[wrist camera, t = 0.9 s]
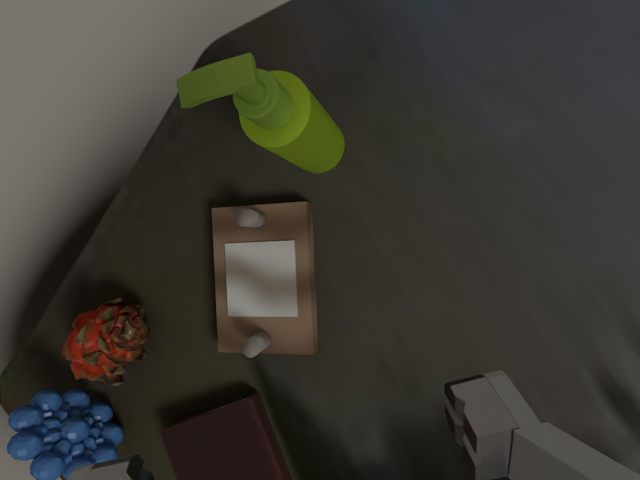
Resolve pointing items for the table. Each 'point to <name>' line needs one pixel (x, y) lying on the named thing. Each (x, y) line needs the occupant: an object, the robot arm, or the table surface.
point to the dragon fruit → (106, 341)
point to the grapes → (63, 433)
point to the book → (226, 444)
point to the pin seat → (265, 279)
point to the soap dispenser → (270, 110)
